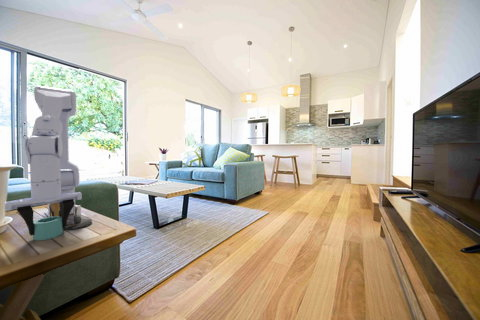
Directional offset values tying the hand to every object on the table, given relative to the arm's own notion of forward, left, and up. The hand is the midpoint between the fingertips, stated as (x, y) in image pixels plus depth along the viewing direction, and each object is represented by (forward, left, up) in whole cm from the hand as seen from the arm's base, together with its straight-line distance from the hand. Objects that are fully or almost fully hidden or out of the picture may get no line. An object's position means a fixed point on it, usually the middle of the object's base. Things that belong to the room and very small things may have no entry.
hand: (48, 230), depth 53 cm
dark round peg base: (-3, +7, -1) cm, 8 cm away
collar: (0, 0, -1) cm, 1 cm away
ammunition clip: (-10, +3, -2) cm, 11 cm away
